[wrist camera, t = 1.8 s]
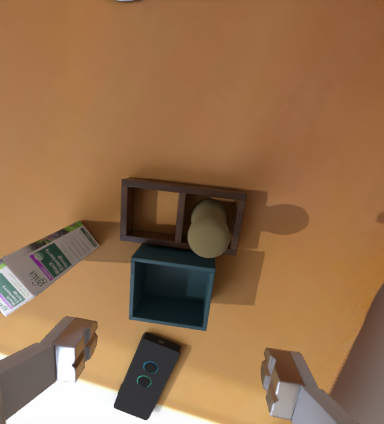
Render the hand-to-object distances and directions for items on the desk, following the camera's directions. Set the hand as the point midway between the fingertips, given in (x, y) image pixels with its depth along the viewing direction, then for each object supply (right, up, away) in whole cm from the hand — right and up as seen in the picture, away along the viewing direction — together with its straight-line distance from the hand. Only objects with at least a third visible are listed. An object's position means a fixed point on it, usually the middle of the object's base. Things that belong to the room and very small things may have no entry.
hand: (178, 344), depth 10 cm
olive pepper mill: (+3, +6, +25) cm, 25 cm away
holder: (-1, +6, +25) cm, 25 cm away
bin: (-2, -5, +27) cm, 28 cm away
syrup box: (-20, +1, +28) cm, 34 cm away
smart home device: (-9, -28, +34) cm, 44 cm away
